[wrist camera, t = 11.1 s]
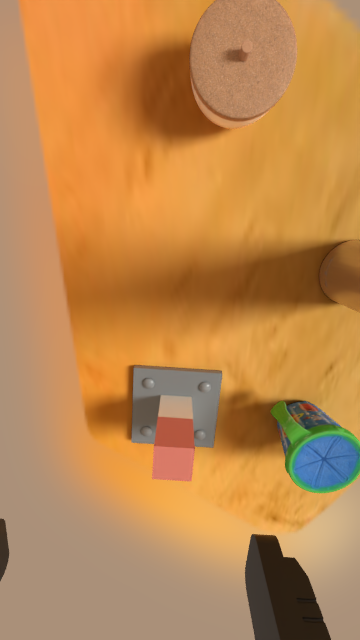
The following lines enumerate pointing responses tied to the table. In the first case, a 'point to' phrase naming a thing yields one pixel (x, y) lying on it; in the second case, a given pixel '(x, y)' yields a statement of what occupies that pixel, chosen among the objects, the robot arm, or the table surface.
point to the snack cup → (316, 448)
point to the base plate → (175, 383)
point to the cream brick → (175, 407)
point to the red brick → (173, 449)
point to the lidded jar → (241, 60)
